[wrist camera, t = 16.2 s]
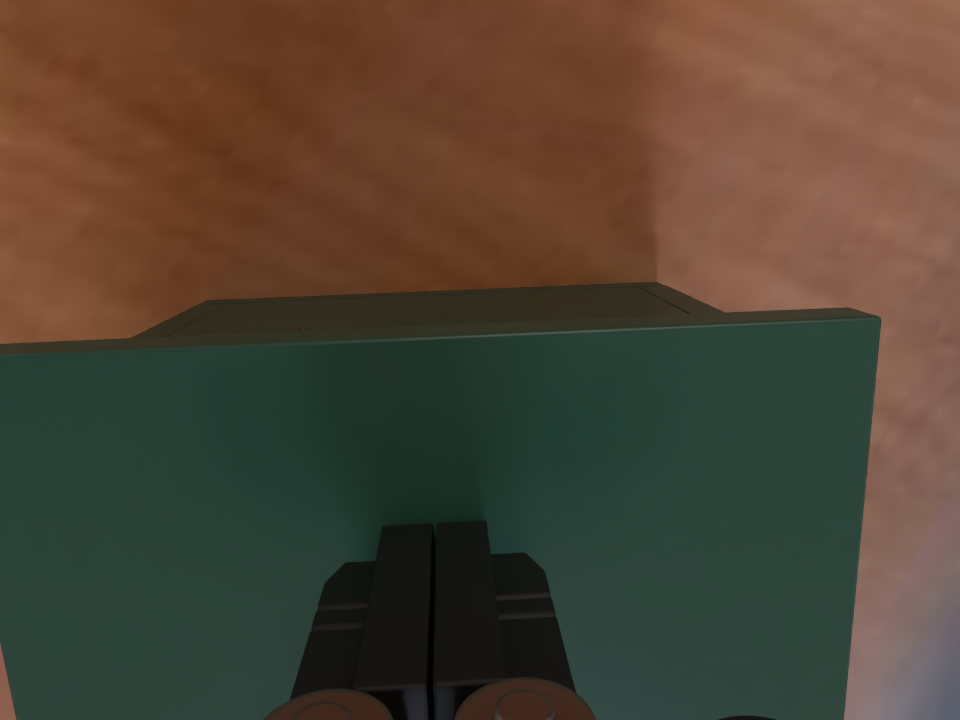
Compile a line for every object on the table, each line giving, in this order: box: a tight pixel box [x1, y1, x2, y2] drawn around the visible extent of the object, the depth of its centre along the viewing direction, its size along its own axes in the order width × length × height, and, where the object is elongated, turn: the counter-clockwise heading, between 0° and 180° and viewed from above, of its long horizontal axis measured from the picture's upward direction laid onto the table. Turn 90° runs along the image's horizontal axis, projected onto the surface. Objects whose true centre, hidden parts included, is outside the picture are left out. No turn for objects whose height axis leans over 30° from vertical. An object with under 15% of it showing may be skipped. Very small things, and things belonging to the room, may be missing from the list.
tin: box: [132, 282, 725, 338], centre depth 17 cm, size 14×13×10 cm
